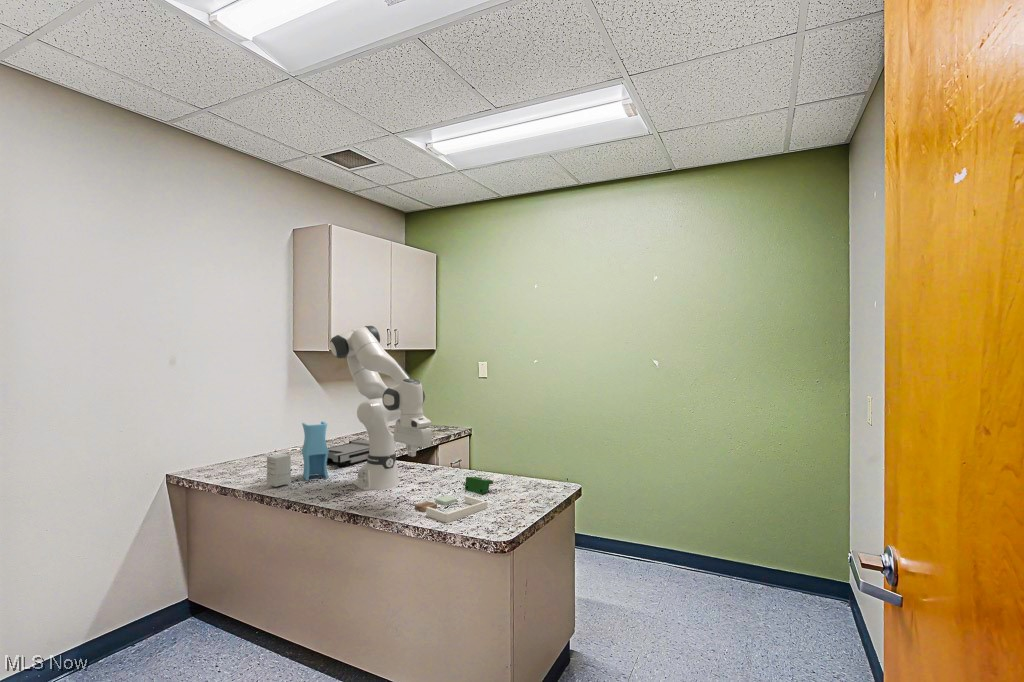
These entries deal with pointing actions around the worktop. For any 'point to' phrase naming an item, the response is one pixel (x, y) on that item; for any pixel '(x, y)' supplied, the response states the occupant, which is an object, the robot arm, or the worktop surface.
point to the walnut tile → (423, 506)
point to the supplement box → (278, 469)
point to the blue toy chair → (315, 450)
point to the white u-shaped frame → (451, 516)
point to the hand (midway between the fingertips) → (411, 455)
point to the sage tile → (446, 500)
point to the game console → (349, 453)
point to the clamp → (477, 485)
